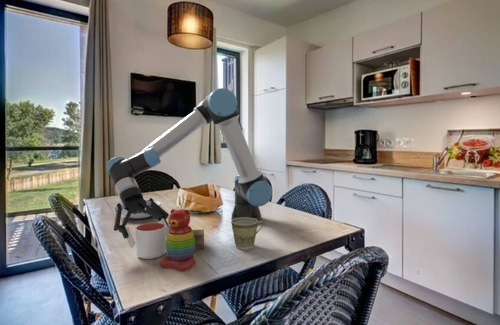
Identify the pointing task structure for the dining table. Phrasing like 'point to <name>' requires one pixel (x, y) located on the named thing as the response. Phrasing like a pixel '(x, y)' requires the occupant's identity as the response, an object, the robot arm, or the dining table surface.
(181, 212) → the stacking bear
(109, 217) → the dining table surface
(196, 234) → the walnut block
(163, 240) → the cup
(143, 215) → the serving bowl
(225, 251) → the dining table surface
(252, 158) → the robot arm
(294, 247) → the dining table surface
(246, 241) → the ceramic cup
